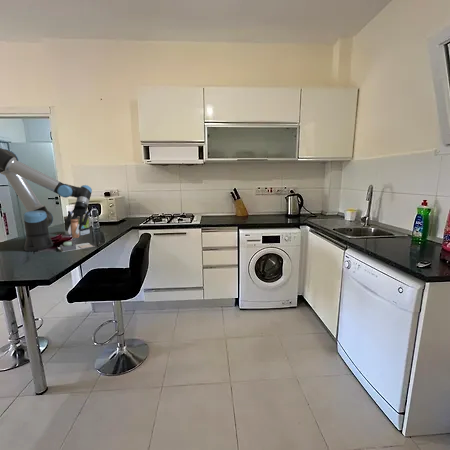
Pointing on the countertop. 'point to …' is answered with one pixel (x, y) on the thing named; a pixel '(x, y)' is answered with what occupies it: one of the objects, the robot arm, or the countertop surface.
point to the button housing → (68, 247)
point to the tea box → (84, 229)
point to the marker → (74, 228)
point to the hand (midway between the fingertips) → (72, 233)
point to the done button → (67, 244)
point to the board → (81, 246)
